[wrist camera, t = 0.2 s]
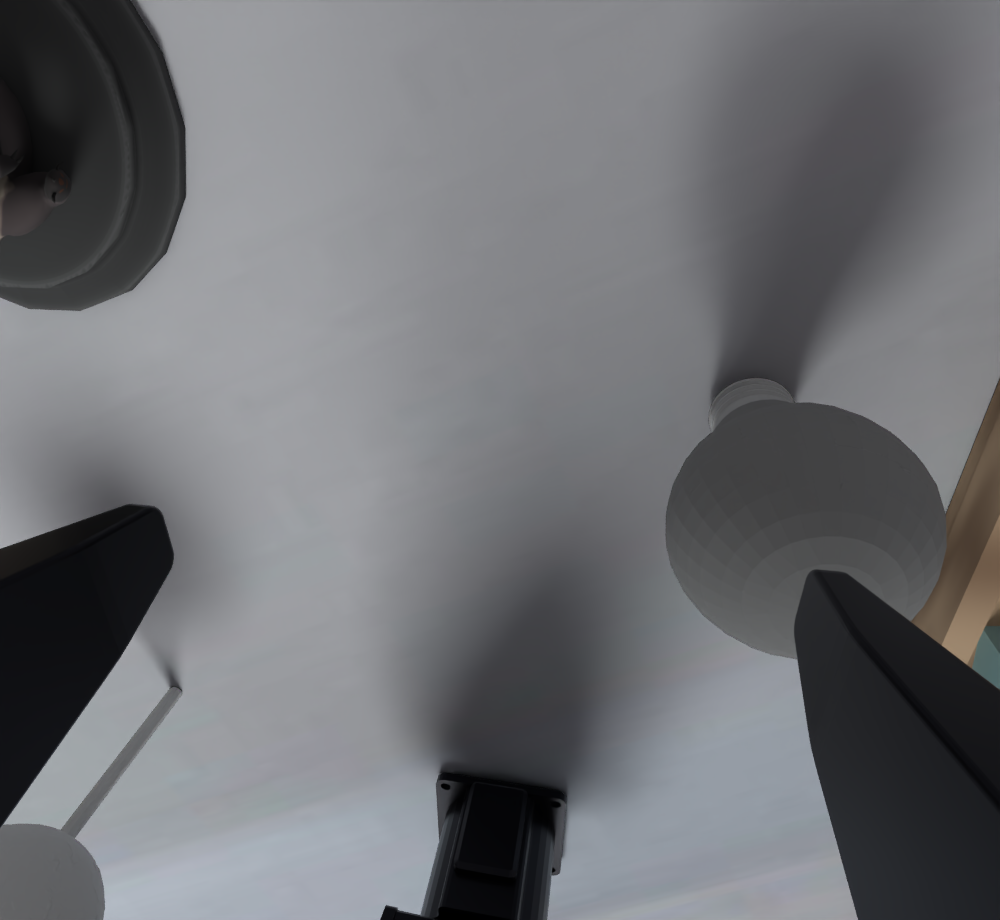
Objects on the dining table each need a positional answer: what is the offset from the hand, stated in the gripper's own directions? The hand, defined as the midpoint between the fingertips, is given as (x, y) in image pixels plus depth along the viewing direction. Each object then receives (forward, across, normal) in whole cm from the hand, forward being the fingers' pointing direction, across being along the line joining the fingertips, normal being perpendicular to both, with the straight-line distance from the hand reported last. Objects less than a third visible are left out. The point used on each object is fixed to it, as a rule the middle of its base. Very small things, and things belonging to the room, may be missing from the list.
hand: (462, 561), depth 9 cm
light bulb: (+14, -6, +3) cm, 16 cm away
